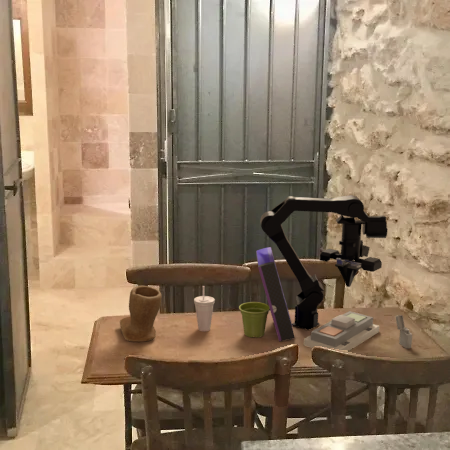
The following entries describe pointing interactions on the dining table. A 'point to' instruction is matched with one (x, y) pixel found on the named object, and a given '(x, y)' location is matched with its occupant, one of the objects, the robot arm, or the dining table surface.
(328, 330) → the clay key
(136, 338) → the brown clay boot
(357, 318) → the sage key
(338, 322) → the grey key
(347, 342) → the grey piece
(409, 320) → the dining table surface
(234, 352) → the dining table surface
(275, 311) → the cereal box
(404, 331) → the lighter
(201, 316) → the smoothie
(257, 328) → the plant pot
